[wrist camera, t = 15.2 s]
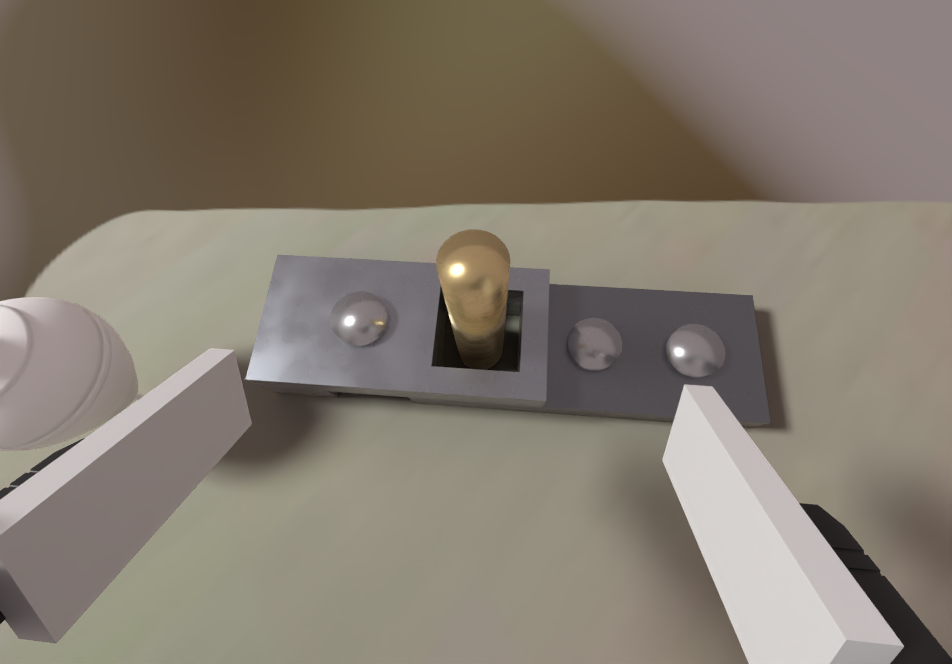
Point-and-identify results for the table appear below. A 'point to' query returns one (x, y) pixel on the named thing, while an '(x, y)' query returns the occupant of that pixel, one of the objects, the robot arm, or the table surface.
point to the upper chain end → (385, 333)
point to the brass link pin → (475, 294)
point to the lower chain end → (643, 353)
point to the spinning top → (58, 372)
